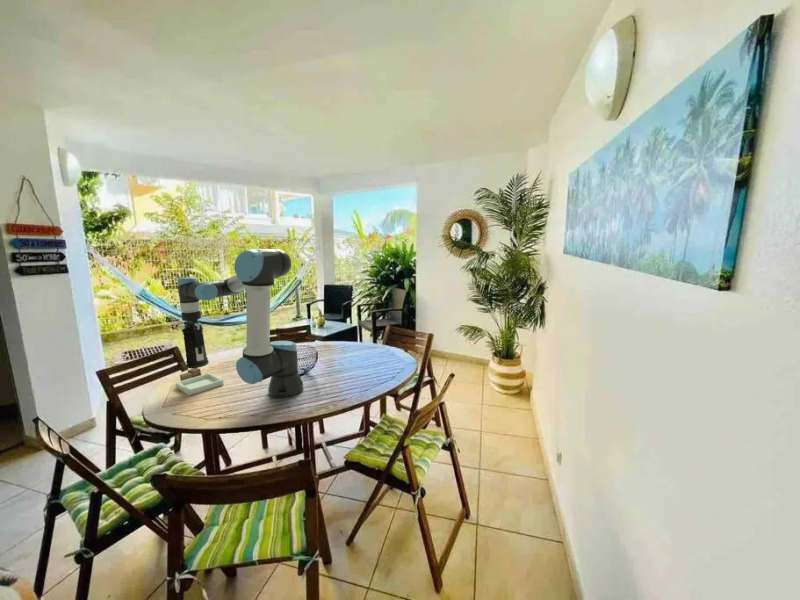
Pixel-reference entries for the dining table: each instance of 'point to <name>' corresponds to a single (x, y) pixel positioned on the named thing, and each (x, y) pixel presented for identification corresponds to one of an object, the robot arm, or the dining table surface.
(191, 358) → the container
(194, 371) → the walnut block
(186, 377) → the walnut block
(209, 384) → the tray
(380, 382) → the dining table surface
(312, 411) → the dining table surface
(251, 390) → the dining table surface
